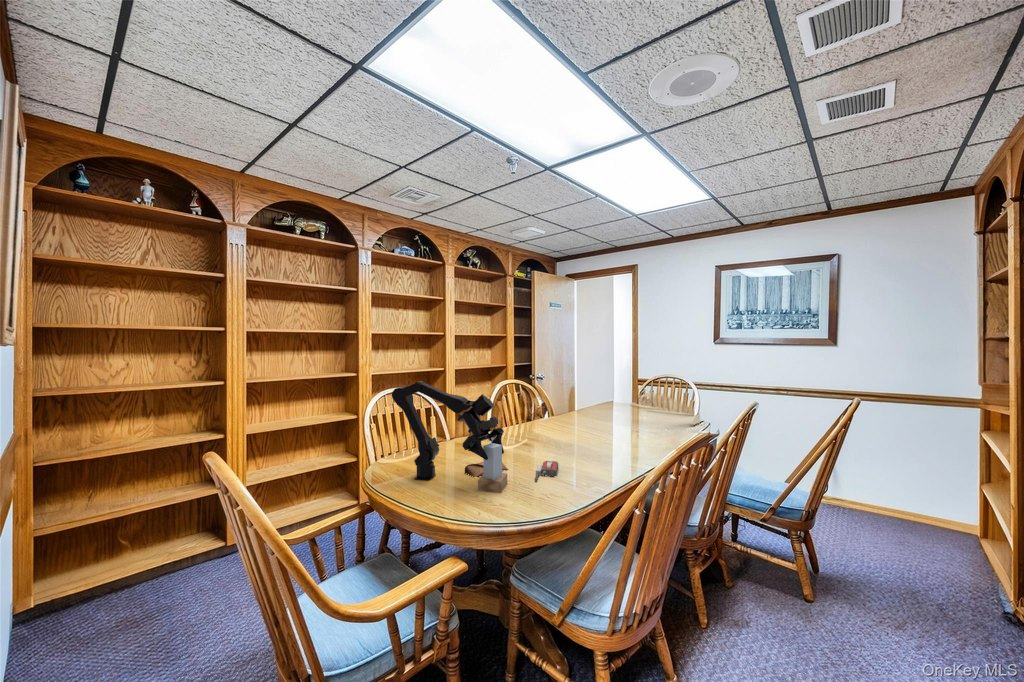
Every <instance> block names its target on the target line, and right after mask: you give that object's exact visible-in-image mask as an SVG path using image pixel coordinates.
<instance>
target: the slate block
mask: <svg viewBox="0 0 1024 682" xmlns="http://www.w3.org/2000/svg"><path fill="white" fill-rule="evenodd" d="M502 446H503V444H502V445H499V444H495V443H491V442H490V443H489V444H485V445H482V447H483V449H484V451H485V453H486V454H487V456H488V460H485V459H483V458H482V460H483V462H484V477H485V478H488V479H492V480H495V479H497V478H499V477H502V473H503V471H502V463H503V454H502Z"/></svg>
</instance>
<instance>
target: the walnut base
mask: <svg viewBox="0 0 1024 682" xmlns="http://www.w3.org/2000/svg"><path fill="white" fill-rule="evenodd" d="M507 485H508V473H505V472H504V473H503V472H502V477H499V478H497V479H495V480H492V479H488V478H485V477H484V474H483V475H482V476H481V477H478V479H477V491H478V490H479V492H488V491H489V492H490V493H499V492H501V493H502V492H503V491H504V490H505V488H506V486H507Z"/></svg>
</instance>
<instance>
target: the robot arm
mask: <svg viewBox="0 0 1024 682" xmlns="http://www.w3.org/2000/svg"><path fill="white" fill-rule="evenodd" d="M417 393H420V394H422V395H425V396H427V397H429V398H431V399H433V400H435V401H437V402H440V403H442V404H443V405H445V407H446V408H447V409H449V410H450V411H452V412H453V413H455V414H458V417H457V422H464V423H465V425H466V426H467V428H468V430H467V432H468V434H471V435H468V436H467V438H465V439H464V441H463V442H462V448H463V449H464V451H468V452H471V453H472V454H475V455H477V456H478V457H480V458H482V460H483V459H485V460H488V456H487V454H486V453H485V451H484V449H483V445H482V441H486V440H488V441H489V442H490V443H495V444H499V445H502V455H504V453H505V452H504V451H505V450H504V447H503V443H502V437H503V435H504V433H505V430H504V429H503V428H502V427H500V426H499V427H498V424H499V420H498V418H497V417H496V416H491V417H489V419H488V420H484V419H482V420H481V418H480V416H481V417H484V416H485V415H486V414H487V413H489V412H490V411H492V409H493V408H494V407H495V405H494V403H493V402H492V400H491V399H490V398H488V397H487V396H486V395H484V394H480V395H479V397H478V398H477V399H476V400H475V401H473V400H468V399H467V397H465V396H461V395H458V394H451V393H448V392H446V391H444V390H442V389H439V388H438V387H435V386H432V385H431V384H428V383H426V382H425V381H422V380H420V381H417V382H414V383H413V384H410V385H404V386H400V387H396V388H394V389H393V391H392V393H391V398H392V400H393V401H394V403H395V404H396V405H397V406H398V407H399V408H400V409H402V411H403V413H404V415H405V418H406V419H407V422H408V424H409V426H410V428H411V430H412V432H413V434H414V436H415V438H416V441H417V449H418V453H419V454H418V456H417V457H416V458H415V459H414V464H415V466H416V476H415V477H414V480H420V481H421V480H422V481H431V479H433V478H434V477H435V476H436V465H435V462H434V460H435V459H436V456H438V454H439V452H440V445H439V443H438V441H437V438H436V437H435V436H434V437H433V438H432V437H431V436H430V435H429V433H428V432H427V430H426V427H425V425H424V423H423V421H422V419H421V417H420V415H419V413H418V411H417V408H416V407H415V404H414V403H415V402H414V394H417ZM461 413H462V414H461Z"/></svg>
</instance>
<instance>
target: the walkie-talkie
mask: <svg viewBox="0 0 1024 682" xmlns="http://www.w3.org/2000/svg"><path fill="white" fill-rule="evenodd" d="M558 471H559V462H558V461H556V460H555V461H554V460H545V461H543V463H542V465H540V466H537V467H536V469H535V477H534V481H535V482H536V481H538V479H539V476H541V475H547V476H546V477H551V476H552V477H554V476H556V475H557V476H558ZM557 476H556V477H557Z"/></svg>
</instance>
